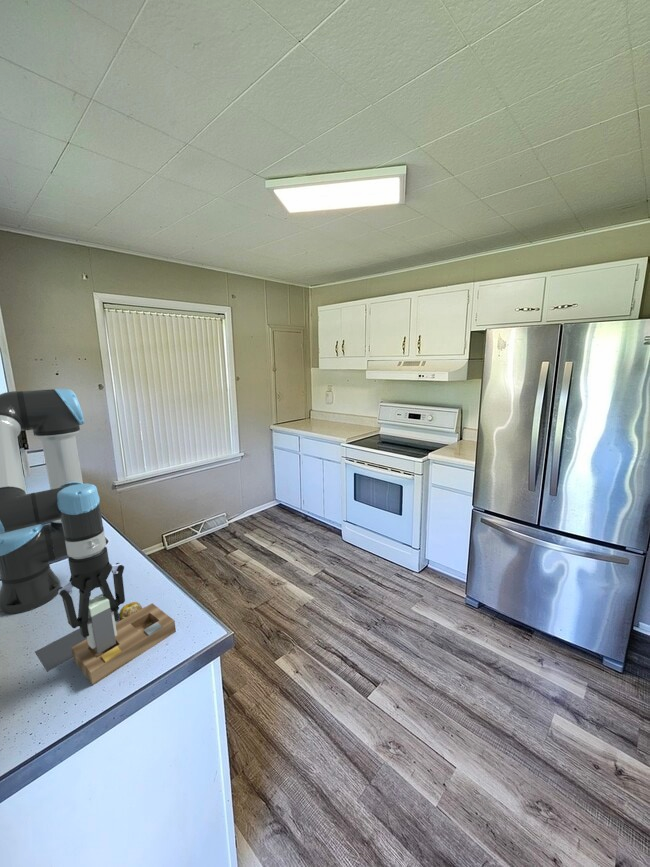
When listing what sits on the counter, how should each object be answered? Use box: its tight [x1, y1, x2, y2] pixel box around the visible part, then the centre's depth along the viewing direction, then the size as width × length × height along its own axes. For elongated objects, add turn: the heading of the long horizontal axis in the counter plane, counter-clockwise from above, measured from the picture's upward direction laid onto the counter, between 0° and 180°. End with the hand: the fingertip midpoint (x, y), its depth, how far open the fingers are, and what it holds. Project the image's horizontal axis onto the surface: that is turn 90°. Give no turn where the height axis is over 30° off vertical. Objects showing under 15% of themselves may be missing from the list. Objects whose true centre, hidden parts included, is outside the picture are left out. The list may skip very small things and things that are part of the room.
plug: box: [88, 593, 116, 654], centre depth 85 cm, size 4×4×12 cm
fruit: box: [119, 601, 143, 621], centre depth 101 cm, size 8×8×4 cm
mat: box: [34, 627, 87, 672], centre depth 90 cm, size 10×10×1 cm
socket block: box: [71, 603, 177, 686], centre depth 90 cm, size 12×20×4 cm, turn 142°
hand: (102, 639), depth 86 cm, fingers closed on plug, 4 cm apart
